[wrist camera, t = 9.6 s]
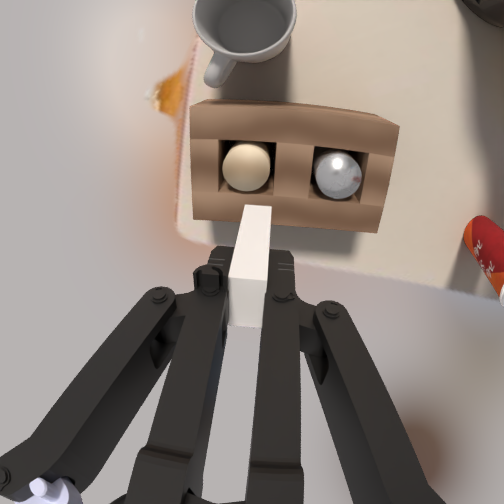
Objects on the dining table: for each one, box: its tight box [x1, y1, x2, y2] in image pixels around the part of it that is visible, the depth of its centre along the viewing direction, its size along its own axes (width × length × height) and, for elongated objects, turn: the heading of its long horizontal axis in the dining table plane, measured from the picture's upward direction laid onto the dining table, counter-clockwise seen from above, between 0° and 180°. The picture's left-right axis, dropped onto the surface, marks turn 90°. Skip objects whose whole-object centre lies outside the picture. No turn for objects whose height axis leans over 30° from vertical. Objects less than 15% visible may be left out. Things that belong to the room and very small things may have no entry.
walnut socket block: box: [190, 99, 400, 233], centre depth 32 cm, size 12×20×8 cm, turn 88°
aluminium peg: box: [312, 146, 362, 199], centre depth 31 cm, size 4×4×8 cm
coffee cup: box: [464, 215, 504, 307], centre depth 32 cm, size 8×8×15 cm
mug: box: [192, 0, 297, 88], centre depth 24 cm, size 12×8×11 cm
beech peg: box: [222, 140, 271, 191], centre depth 32 cm, size 4×4×8 cm
